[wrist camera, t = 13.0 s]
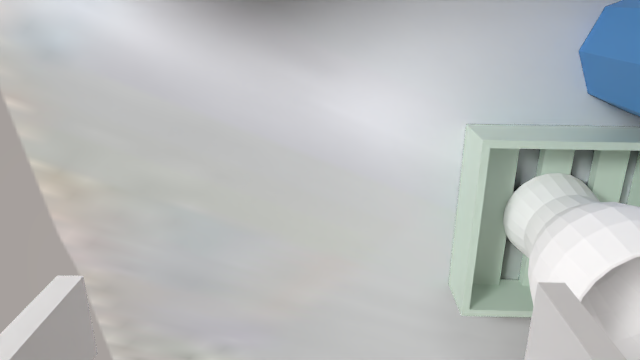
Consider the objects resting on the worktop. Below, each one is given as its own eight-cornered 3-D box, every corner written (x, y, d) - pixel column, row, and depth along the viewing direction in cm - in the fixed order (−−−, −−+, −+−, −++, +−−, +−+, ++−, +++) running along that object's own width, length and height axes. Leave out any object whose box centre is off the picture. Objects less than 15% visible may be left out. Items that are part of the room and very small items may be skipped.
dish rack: (466, 124, 42) (482, 140, 37) (652, 126, 41) (693, 143, 37) (448, 283, 47) (461, 315, 42) (613, 287, 47) (645, 319, 42)
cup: (626, 242, 44) (765, 358, 30) (508, 286, 46) (586, 415, 32) (593, 135, 41) (730, 208, 27) (468, 187, 43) (535, 282, 28)
